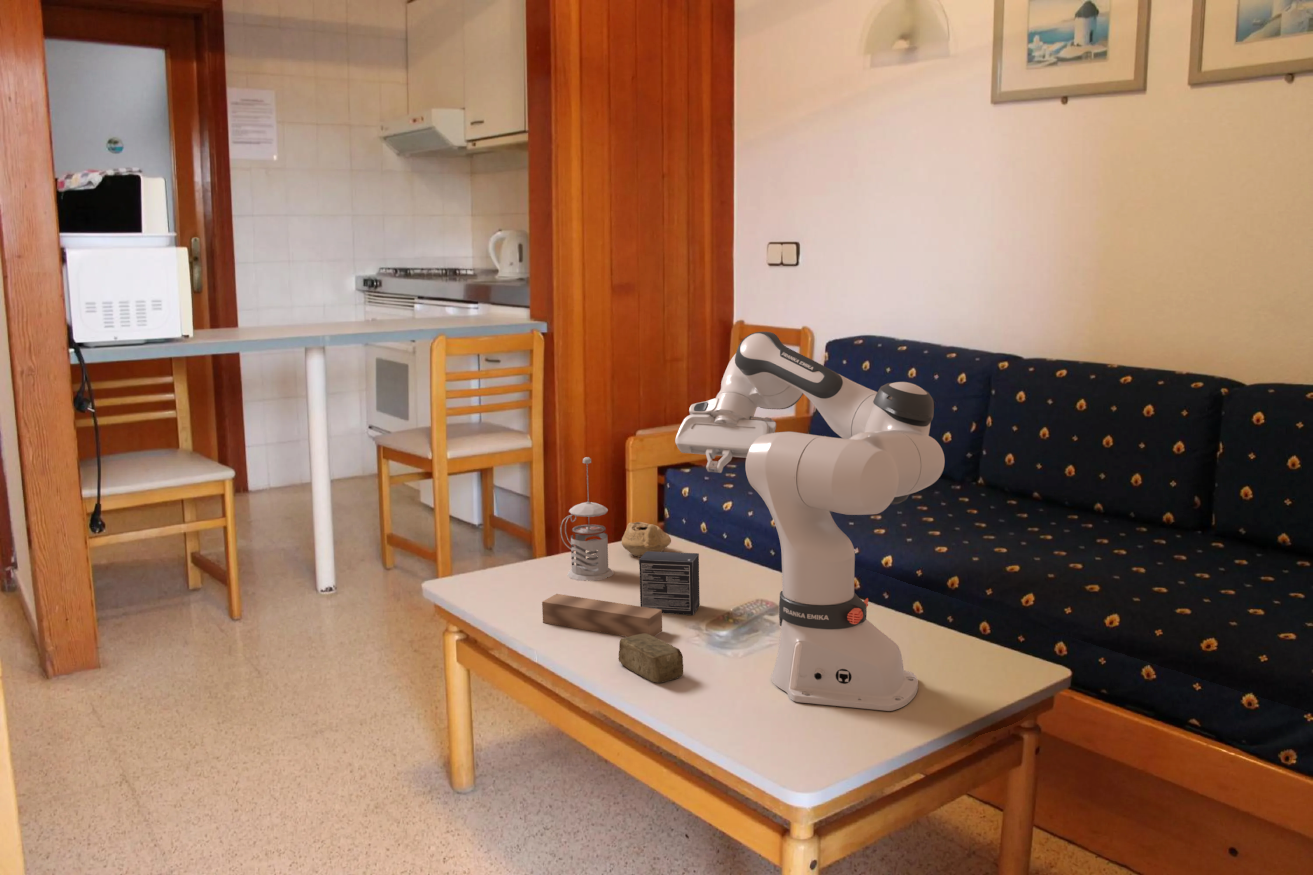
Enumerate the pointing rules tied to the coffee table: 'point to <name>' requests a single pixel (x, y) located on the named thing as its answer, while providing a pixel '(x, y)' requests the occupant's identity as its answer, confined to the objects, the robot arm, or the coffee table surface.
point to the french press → (588, 542)
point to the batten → (601, 616)
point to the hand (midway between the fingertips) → (713, 470)
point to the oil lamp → (644, 538)
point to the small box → (670, 582)
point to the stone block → (651, 658)
